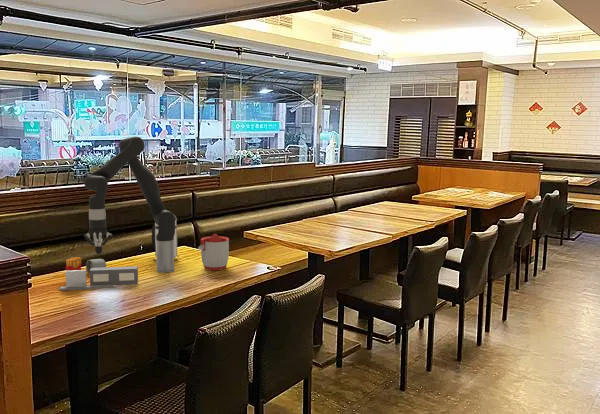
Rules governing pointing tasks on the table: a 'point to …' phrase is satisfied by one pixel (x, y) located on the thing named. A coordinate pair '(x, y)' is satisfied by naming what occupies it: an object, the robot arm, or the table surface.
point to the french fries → (73, 264)
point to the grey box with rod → (109, 278)
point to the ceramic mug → (95, 264)
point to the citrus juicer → (214, 252)
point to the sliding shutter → (76, 278)
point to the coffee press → (155, 230)
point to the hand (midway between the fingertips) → (98, 253)
